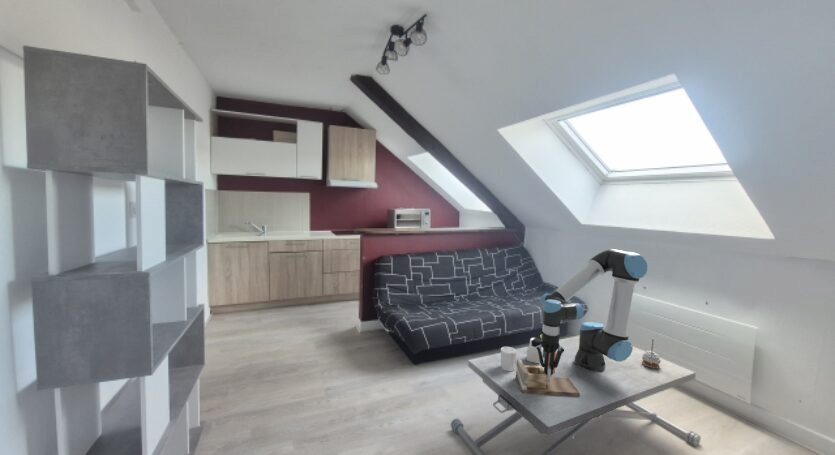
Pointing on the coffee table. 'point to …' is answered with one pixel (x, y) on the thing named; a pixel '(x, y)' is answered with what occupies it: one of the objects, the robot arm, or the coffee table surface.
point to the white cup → (508, 358)
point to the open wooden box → (536, 377)
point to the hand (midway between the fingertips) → (547, 380)
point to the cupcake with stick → (651, 358)
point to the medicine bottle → (533, 350)
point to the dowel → (554, 359)
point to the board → (553, 387)
